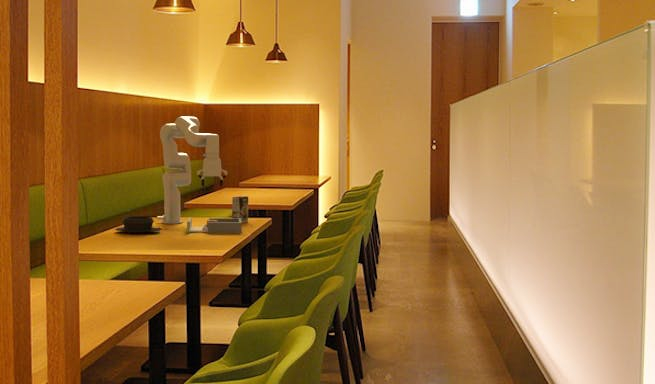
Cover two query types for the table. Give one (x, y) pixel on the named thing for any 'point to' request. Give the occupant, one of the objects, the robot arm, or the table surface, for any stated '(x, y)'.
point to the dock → (225, 225)
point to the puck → (211, 221)
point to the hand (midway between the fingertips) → (212, 186)
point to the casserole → (138, 225)
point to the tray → (195, 229)
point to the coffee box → (240, 208)
